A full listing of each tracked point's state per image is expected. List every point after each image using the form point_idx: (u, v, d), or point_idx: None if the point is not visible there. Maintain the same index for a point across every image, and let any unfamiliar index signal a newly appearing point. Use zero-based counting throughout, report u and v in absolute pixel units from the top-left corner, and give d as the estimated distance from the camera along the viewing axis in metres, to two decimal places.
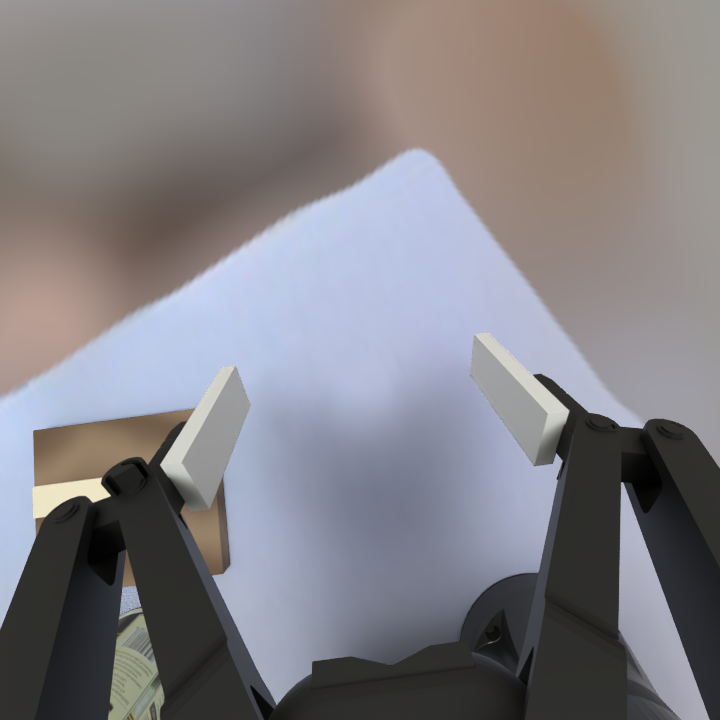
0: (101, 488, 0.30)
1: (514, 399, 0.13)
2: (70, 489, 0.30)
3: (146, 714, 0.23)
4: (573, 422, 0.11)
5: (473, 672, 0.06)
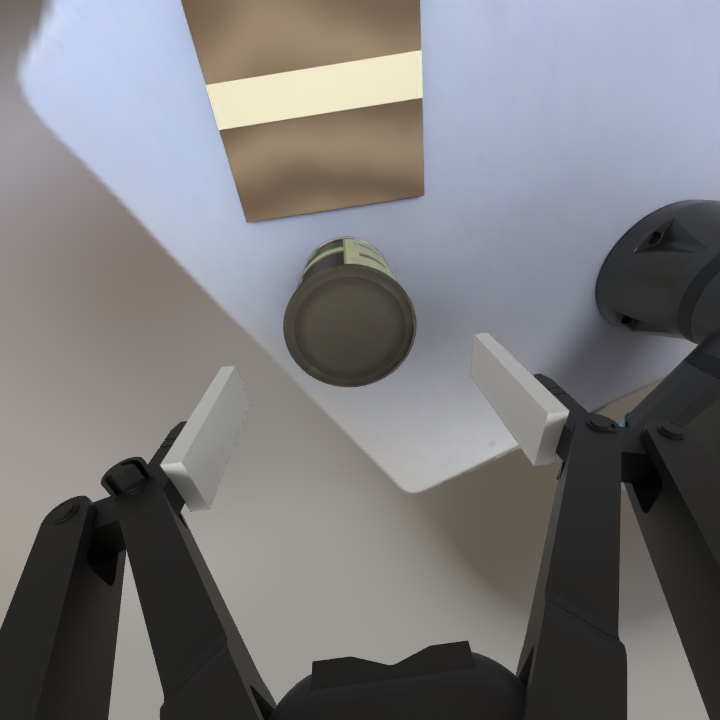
0: (289, 88, 0.25)
1: (514, 399, 0.13)
2: (252, 89, 0.25)
3: None
4: (573, 422, 0.11)
5: (473, 672, 0.06)
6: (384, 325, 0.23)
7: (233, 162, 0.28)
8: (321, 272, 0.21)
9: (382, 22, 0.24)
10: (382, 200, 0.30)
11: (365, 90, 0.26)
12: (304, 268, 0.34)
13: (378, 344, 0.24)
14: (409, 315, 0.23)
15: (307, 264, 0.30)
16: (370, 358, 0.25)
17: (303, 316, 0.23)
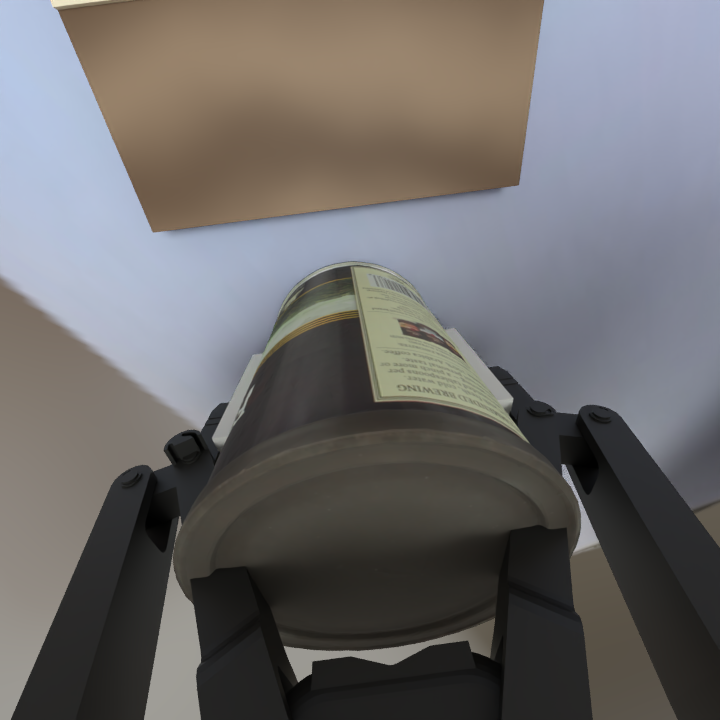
0: None
1: None
2: None
3: None
4: (518, 409, 0.12)
5: (473, 672, 0.05)
6: (481, 554, 0.08)
7: (105, 96, 0.12)
8: (291, 453, 0.05)
9: None
10: (433, 193, 0.15)
11: None
12: None
13: (456, 585, 0.09)
14: None
15: (278, 320, 0.15)
16: (428, 608, 0.09)
17: (238, 550, 0.07)
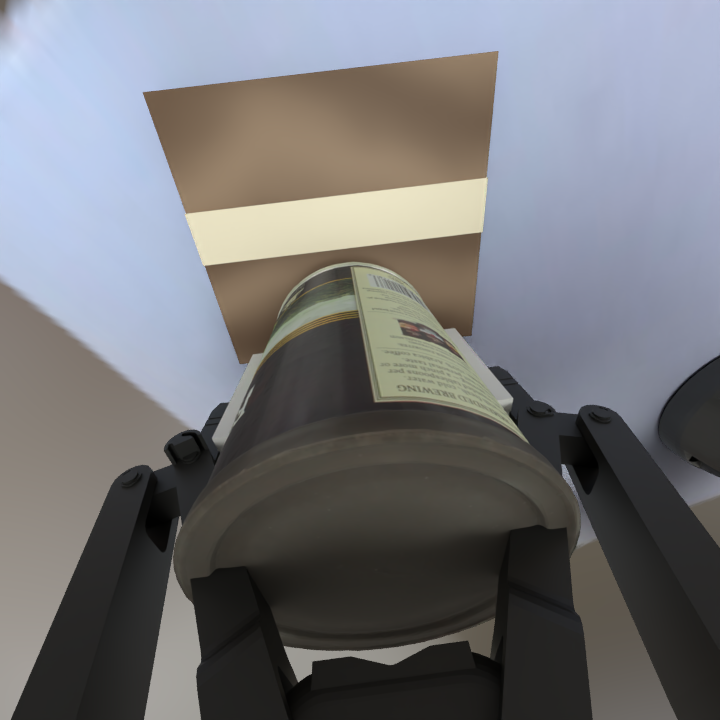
0: (303, 219, 0.18)
1: None
2: (251, 219, 0.18)
3: None
4: (518, 409, 0.12)
5: (473, 672, 0.05)
6: (482, 554, 0.08)
7: (223, 300, 0.21)
8: (291, 453, 0.05)
9: (437, 142, 0.17)
10: None
11: (406, 222, 0.19)
12: None
13: (456, 586, 0.09)
14: None
15: (278, 320, 0.15)
16: (428, 608, 0.09)
17: (238, 551, 0.07)
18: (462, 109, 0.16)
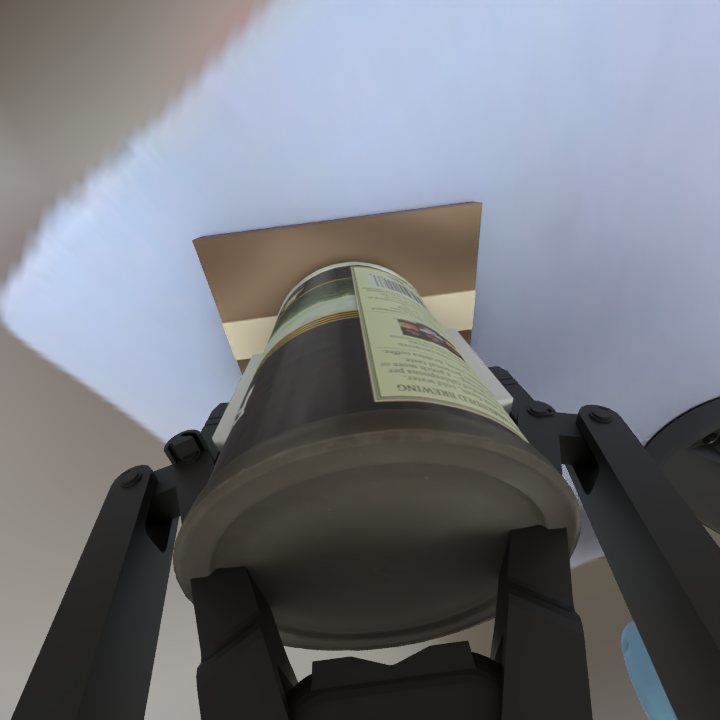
0: None
1: None
2: None
3: None
4: (518, 409, 0.12)
5: (473, 672, 0.06)
6: (481, 554, 0.08)
7: None
8: (291, 453, 0.05)
9: (433, 266, 0.20)
10: None
11: None
12: None
13: (456, 585, 0.09)
14: None
15: (278, 320, 0.15)
16: (428, 607, 0.09)
17: (238, 550, 0.07)
18: (453, 242, 0.20)
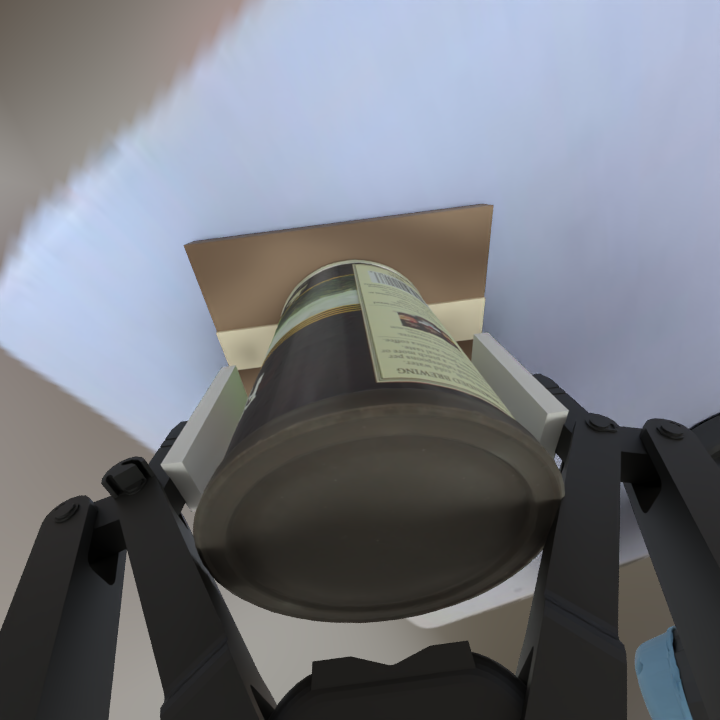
0: None
1: (514, 399, 0.13)
2: None
3: None
4: (572, 422, 0.11)
5: (473, 672, 0.06)
6: (474, 526, 0.09)
7: (247, 395, 0.23)
8: (303, 425, 0.06)
9: (440, 272, 0.19)
10: None
11: None
12: None
13: (452, 558, 0.09)
14: (549, 509, 0.08)
15: (283, 315, 0.16)
16: (426, 580, 0.10)
17: (252, 519, 0.08)
18: (462, 247, 0.18)
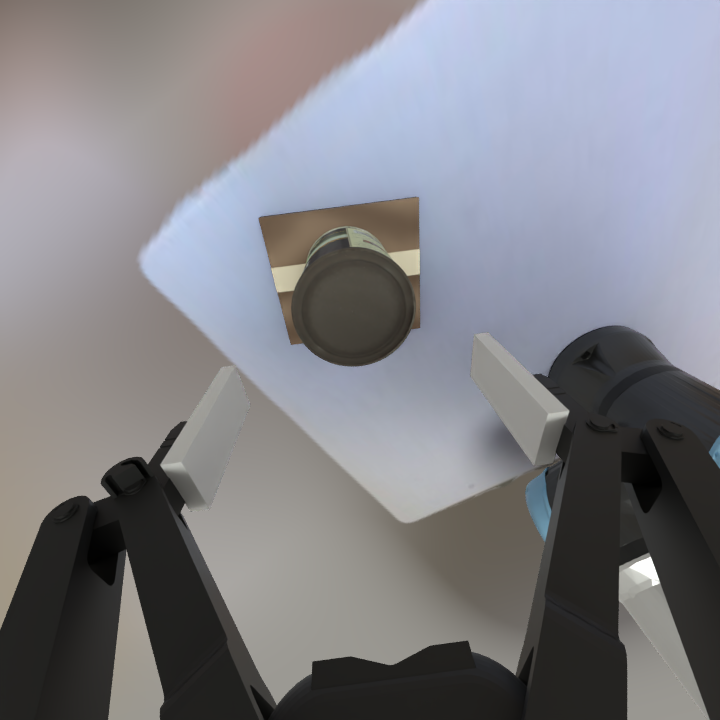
0: None
1: (514, 399, 0.13)
2: None
3: None
4: (573, 422, 0.11)
5: (473, 672, 0.05)
6: (386, 306, 0.25)
7: (285, 310, 0.39)
8: (328, 254, 0.22)
9: (393, 234, 0.35)
10: None
11: None
12: None
13: (380, 325, 0.26)
14: (409, 297, 0.24)
15: (311, 251, 0.32)
16: (372, 339, 0.26)
17: (310, 296, 0.24)
18: (404, 220, 0.35)
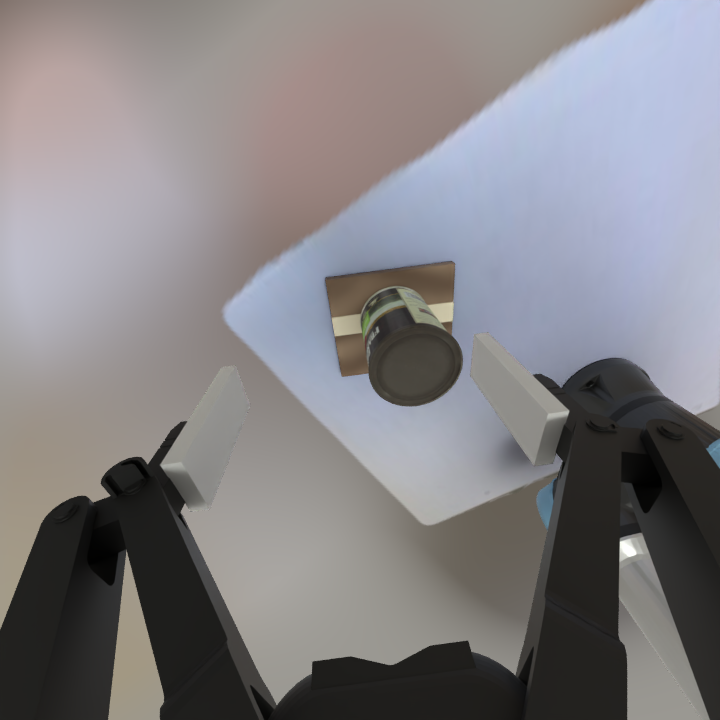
0: None
1: (514, 399, 0.13)
2: (357, 319, 0.44)
3: None
4: (573, 422, 0.11)
5: (473, 672, 0.06)
6: (439, 364, 0.33)
7: (339, 349, 0.47)
8: (402, 330, 0.30)
9: (433, 291, 0.43)
10: None
11: None
12: None
13: (434, 376, 0.33)
14: (458, 357, 0.32)
15: (370, 309, 0.40)
16: (426, 386, 0.34)
17: (384, 358, 0.32)
18: (442, 280, 0.42)
